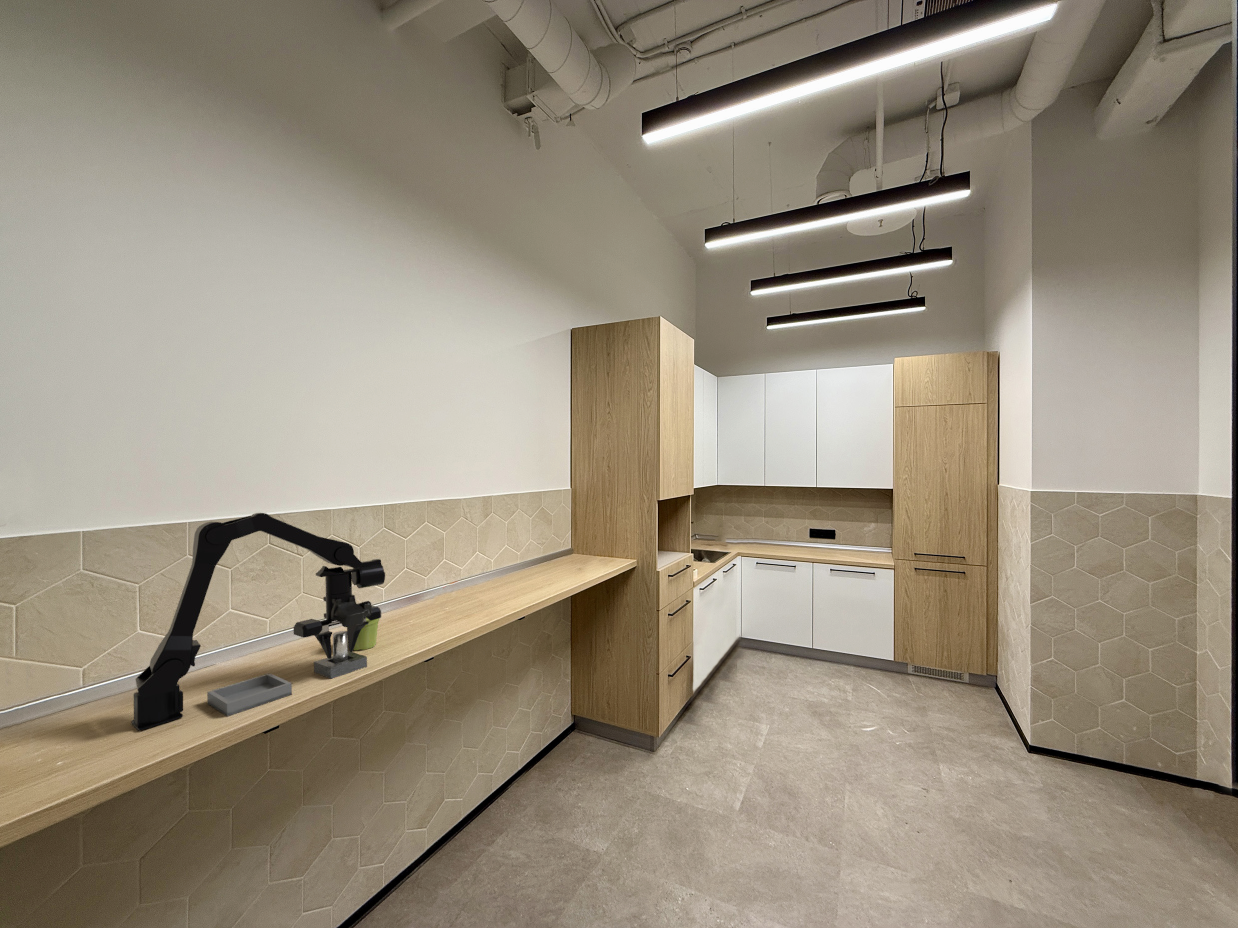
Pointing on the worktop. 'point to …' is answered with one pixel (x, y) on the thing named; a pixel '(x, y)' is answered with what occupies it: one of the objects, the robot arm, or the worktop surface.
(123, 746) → the worktop surface
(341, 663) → the pin holder
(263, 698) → the parts tray
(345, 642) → the pin
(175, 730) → the worktop surface
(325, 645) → the robot arm
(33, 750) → the worktop surface
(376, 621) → the plant pot
